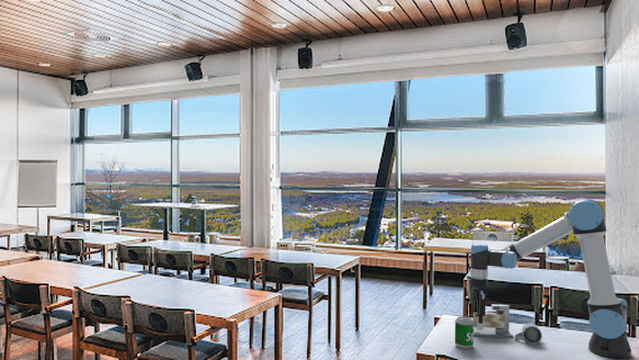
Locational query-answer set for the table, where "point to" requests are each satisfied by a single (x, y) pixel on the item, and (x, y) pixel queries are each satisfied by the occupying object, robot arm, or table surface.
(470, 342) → the soda can
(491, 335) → the board
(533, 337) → the ceramic mug
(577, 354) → the table surface
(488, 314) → the lever link
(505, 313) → the block
